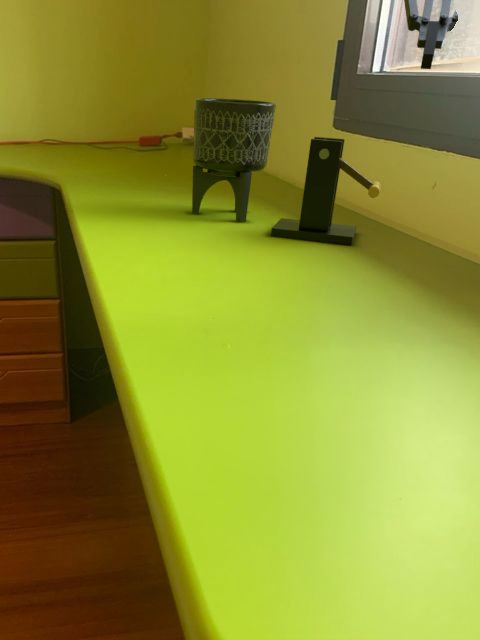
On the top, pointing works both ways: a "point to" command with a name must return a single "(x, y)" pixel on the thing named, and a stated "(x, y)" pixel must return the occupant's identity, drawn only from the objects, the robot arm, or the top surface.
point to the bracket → (319, 198)
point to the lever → (361, 179)
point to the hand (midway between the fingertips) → (427, 61)
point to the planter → (230, 146)
